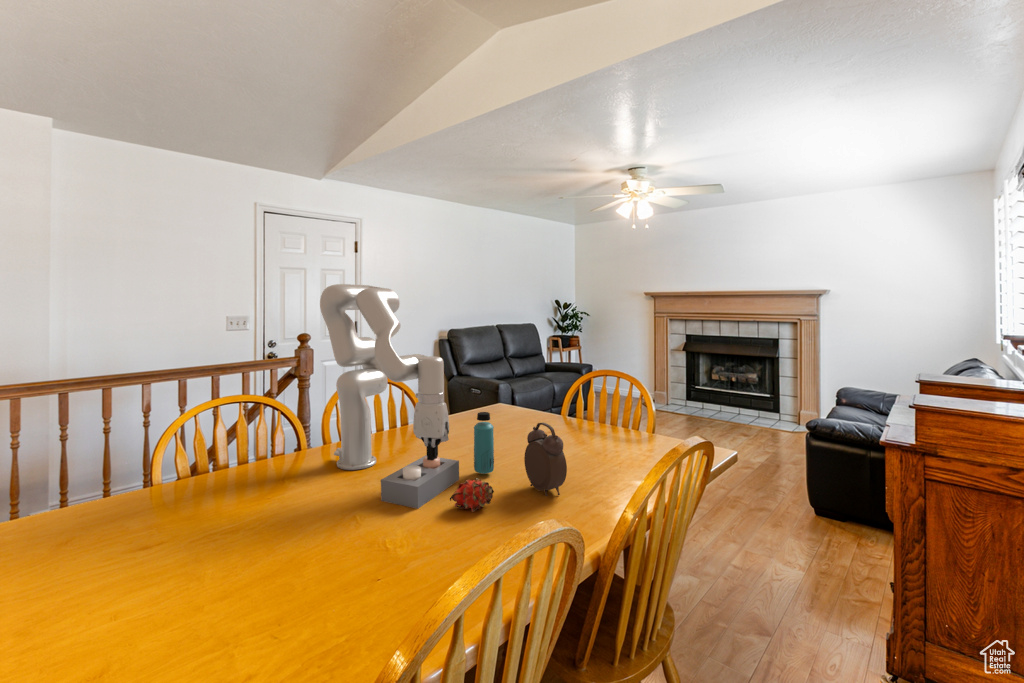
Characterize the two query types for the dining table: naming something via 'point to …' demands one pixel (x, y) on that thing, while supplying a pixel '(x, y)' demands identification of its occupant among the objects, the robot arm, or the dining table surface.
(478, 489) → the dragon fruit
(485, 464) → the beverage bottle
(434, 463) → the brown egg
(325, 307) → the robot arm
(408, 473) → the white rounded piece
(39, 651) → the dining table surface
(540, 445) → the alarm clock
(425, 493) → the grey rectangular block
